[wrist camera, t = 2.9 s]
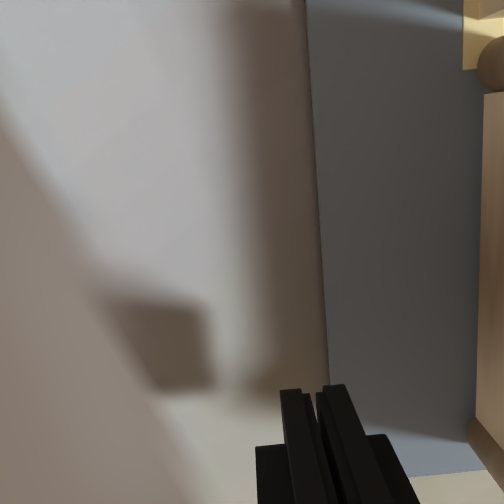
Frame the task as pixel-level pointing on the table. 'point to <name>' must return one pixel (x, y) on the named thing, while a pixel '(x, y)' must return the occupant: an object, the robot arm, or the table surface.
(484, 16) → the fence fixed section
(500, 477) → the fence swing panel
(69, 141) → the table surface
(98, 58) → the table surface
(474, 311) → the card
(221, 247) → the table surface
